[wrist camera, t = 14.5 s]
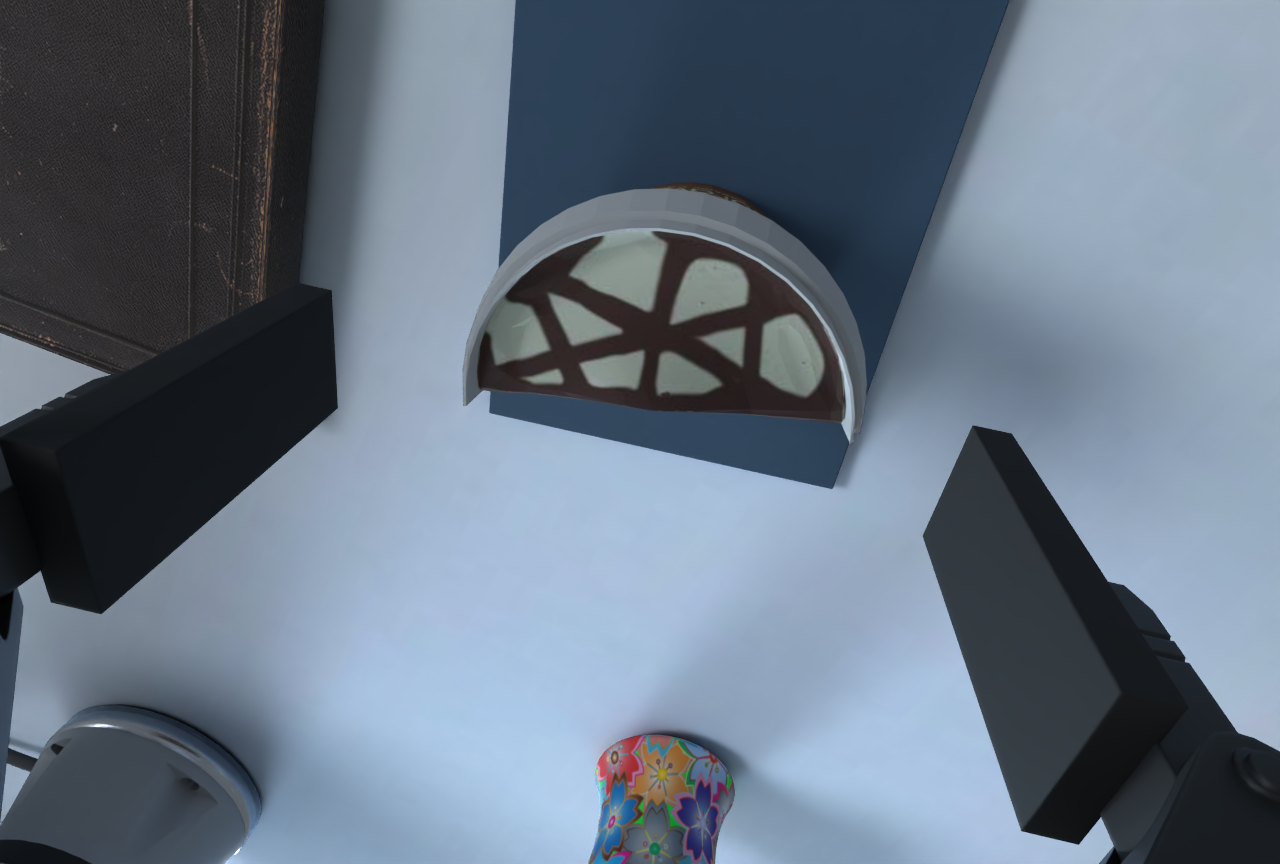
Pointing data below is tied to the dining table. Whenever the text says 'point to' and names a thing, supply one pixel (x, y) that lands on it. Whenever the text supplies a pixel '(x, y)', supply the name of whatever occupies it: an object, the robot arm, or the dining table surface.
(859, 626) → the dining table surface
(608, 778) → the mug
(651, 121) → the mat
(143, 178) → the hardcover book
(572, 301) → the food container
